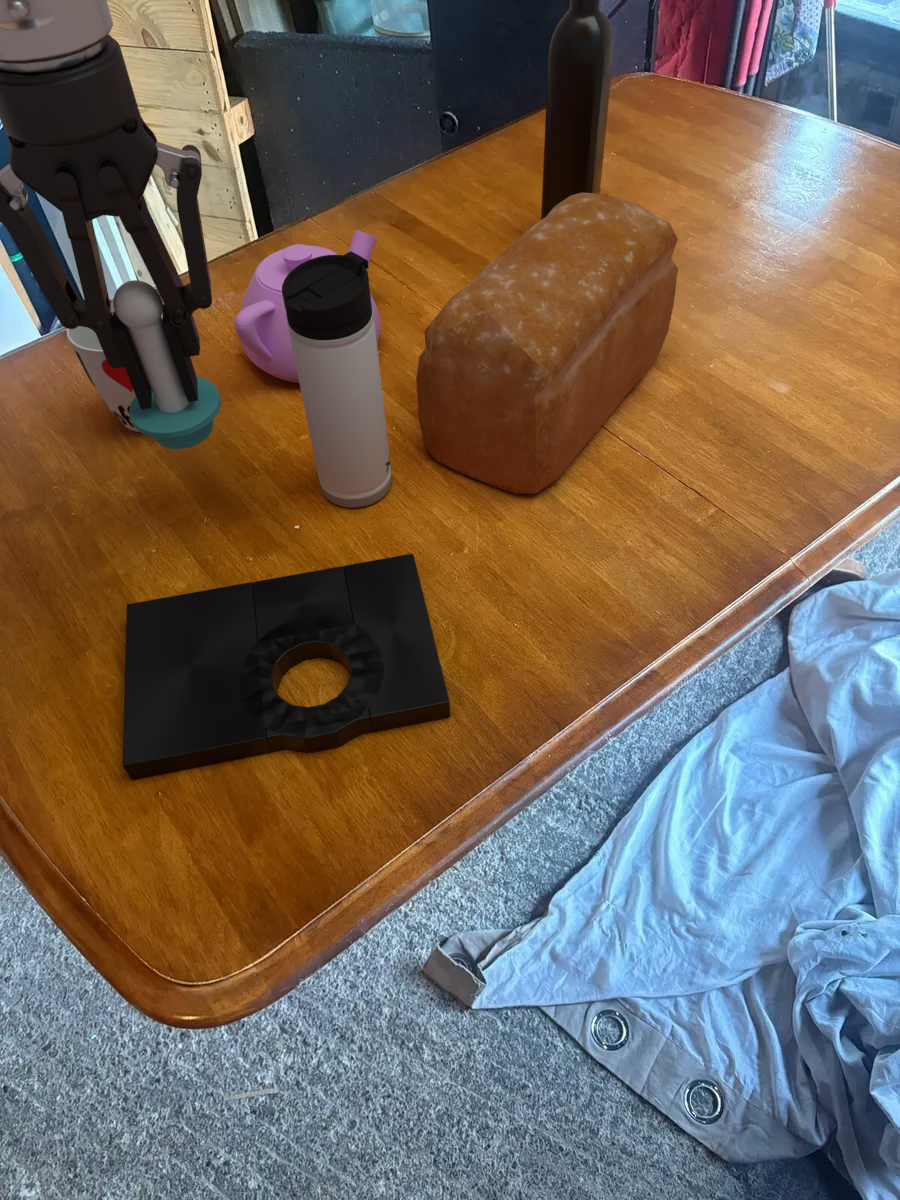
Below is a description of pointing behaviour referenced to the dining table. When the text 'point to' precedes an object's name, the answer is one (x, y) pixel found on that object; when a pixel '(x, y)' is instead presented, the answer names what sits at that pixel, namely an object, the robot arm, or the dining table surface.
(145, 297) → the stopper
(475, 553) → the dining table surface
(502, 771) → the dining table surface
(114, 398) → the cup
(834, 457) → the dining table surface
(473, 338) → the bread
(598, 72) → the wine bottle
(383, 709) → the plate
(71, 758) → the dining table surface
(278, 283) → the teapot
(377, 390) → the travel mug
